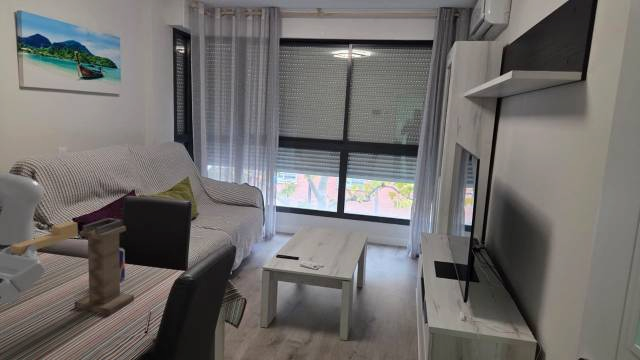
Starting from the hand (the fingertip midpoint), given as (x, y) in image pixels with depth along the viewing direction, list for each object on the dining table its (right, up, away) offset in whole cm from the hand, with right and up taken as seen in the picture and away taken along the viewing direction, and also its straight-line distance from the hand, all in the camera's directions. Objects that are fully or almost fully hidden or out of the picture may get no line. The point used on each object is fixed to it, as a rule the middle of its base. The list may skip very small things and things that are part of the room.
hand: (27, 244), depth 108 cm
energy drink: (-1, -22, +50) cm, 54 cm away
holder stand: (+4, -25, +31) cm, 40 cm away
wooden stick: (+1, -1, +6) cm, 6 cm away
